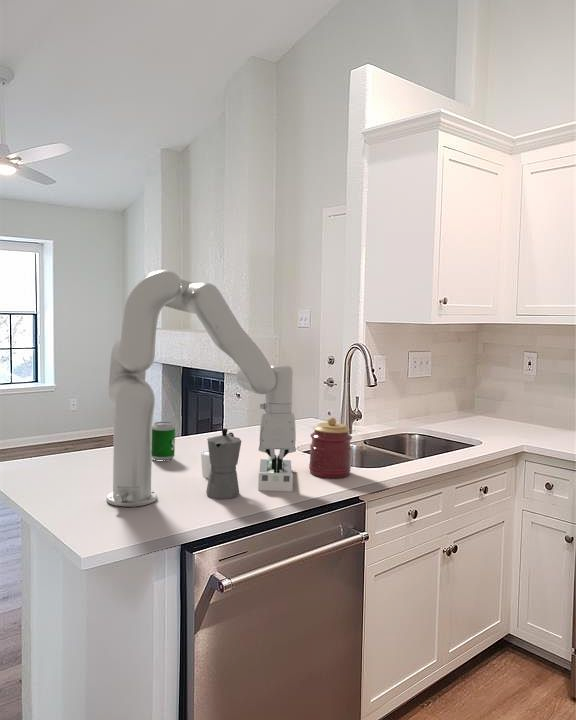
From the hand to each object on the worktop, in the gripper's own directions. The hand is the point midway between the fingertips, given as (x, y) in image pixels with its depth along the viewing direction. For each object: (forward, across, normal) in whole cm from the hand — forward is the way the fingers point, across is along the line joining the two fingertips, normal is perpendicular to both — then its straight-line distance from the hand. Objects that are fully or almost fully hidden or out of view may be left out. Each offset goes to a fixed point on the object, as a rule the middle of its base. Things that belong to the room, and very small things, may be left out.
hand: (276, 471), depth 174 cm
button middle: (+2, 0, +7) cm, 7 cm away
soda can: (+4, -37, +26) cm, 46 cm away
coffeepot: (+4, -14, -9) cm, 17 cm away
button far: (+2, 0, +14) cm, 14 cm away
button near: (+3, 0, 0) cm, 3 cm away
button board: (+4, 0, +7) cm, 8 cm away
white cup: (+4, -19, +8) cm, 21 cm away
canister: (+5, +17, +15) cm, 23 cm away
